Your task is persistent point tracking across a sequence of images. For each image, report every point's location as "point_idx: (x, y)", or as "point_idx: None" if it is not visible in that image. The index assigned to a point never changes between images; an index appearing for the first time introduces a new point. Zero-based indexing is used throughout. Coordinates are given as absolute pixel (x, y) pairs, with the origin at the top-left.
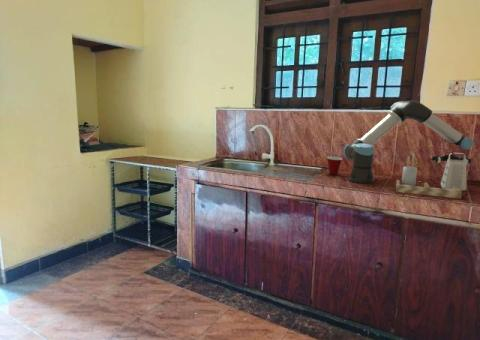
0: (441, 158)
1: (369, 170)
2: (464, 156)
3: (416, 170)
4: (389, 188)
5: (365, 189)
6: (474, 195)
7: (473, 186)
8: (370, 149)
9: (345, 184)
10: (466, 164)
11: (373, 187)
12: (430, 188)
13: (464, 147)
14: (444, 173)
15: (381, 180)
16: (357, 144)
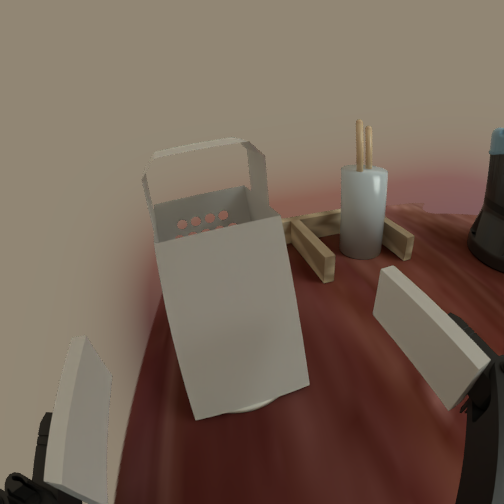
0: (479, 472)
1: (484, 209)
2: (145, 188)
3: (341, 176)
4: None
5: (413, 210)
6: (161, 304)
7: (126, 483)
8: (493, 134)
9: (465, 216)
10: (106, 373)
11: (422, 225)
12: (285, 219)
13: None
14: (294, 331)
15: (497, 289)
16: None
